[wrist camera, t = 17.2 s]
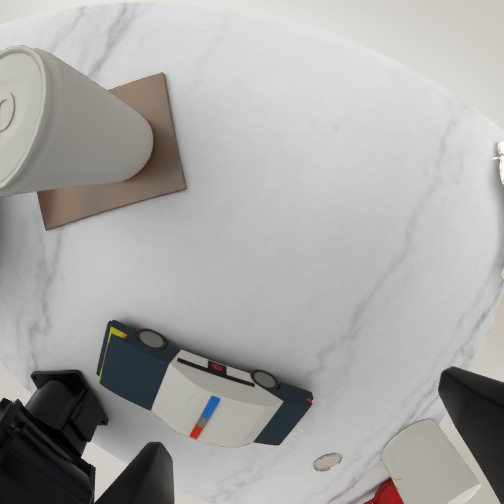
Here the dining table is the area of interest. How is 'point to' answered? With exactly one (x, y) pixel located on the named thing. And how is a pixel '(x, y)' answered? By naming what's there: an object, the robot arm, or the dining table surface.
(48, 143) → the beverage can
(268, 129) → the dining table surface
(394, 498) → the headphones
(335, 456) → the ashtray
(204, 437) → the toy car
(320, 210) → the dining table surface
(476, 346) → the dining table surface
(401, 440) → the cup
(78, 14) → the dining table surface
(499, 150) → the figurine
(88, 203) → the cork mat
